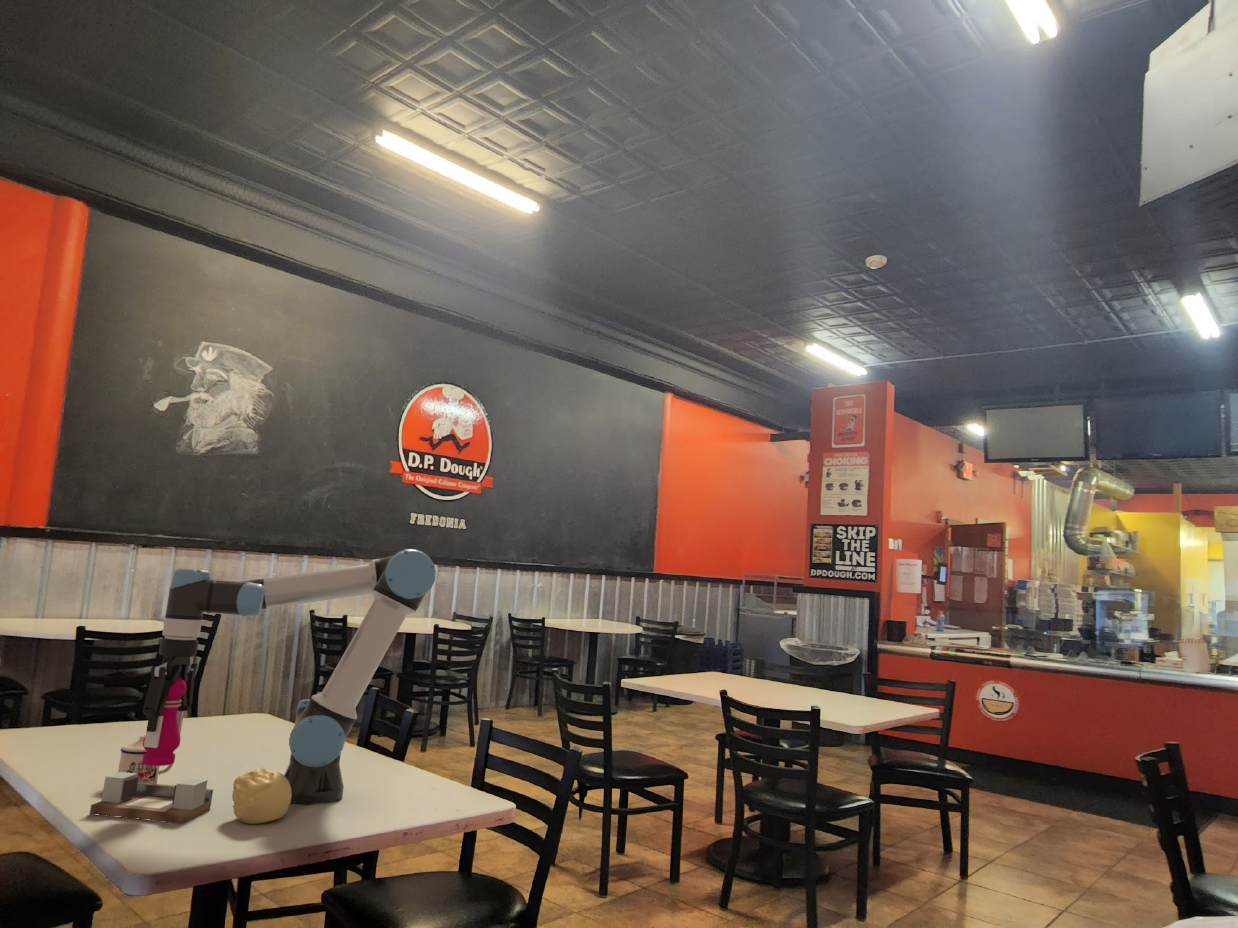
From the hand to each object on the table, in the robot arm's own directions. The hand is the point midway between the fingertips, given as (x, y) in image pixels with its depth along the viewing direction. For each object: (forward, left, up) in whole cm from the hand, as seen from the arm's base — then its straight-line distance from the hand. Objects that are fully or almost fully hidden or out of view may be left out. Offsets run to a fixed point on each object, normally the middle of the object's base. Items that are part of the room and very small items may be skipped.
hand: (161, 743), depth 176 cm
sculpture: (-23, -2, -15) cm, 27 cm away
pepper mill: (0, 0, -4) cm, 4 cm away
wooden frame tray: (0, 0, -14) cm, 14 cm away
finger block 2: (-8, 0, -12) cm, 15 cm away
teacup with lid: (+15, -20, -15) cm, 29 cm away
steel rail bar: (0, -5, -12) cm, 13 cm away
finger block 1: (+8, 0, -12) cm, 14 cm away
